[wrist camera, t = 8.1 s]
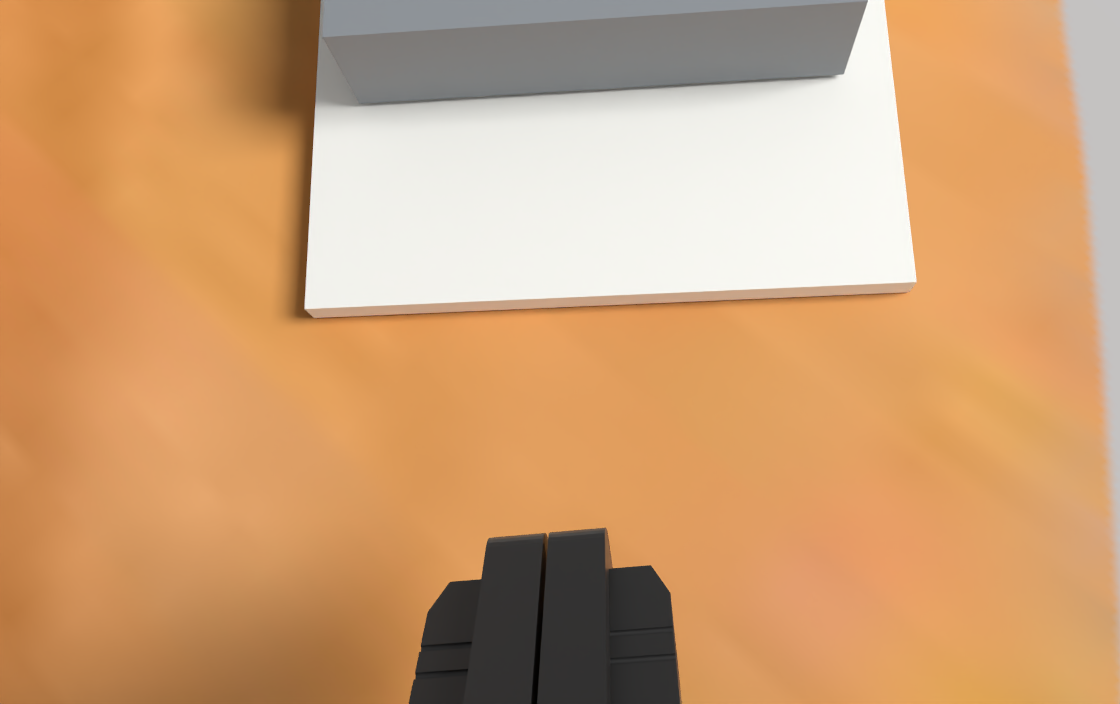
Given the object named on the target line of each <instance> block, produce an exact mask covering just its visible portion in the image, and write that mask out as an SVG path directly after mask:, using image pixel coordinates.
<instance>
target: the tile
mask: <svg viewBox="0 0 1120 704" xmlns="http://www.w3.org/2000/svg"><path fill="white" fill-rule="evenodd" d="M867 3H868V0H324V14H323V34H322V38H323V39H324V41H325V43H326V45H327V47H328V48H329V50H330V52H331V54H332V56H333V57H334V59H335V61H336V63H337V65H338V66H339V68H340V70H341V72H342V74H343V75H344V77H345V79H346V81H347V83H348V84H349V86H350V88H351V90H352V92H353V93H354V95H355V97H356V99H357V101H358V102H359V104H363V103H380V102H396V101H413V100H429V99H446V98H462V97H479V96H495V95H512V94H528V93H545V92H561V91H578V90H594V89H611V88H627V87H644V86H660V85H677V84H693V83H710V82H726V81H743V80H759V79H776V78H792V77H809V76H825V75H842V74H844V72H845V69H846V66H847V63H848V60H849V57H850V54H851V51H852V48H853V45H854V42H855V39H856V36H857V33H858V30H859V27H860V24H861V21H862V18H863V15H864V12H865V9H866V6H867Z"/></svg>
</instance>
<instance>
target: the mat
mask: <svg viewBox="0 0 1120 704" xmlns="http://www.w3.org/2000/svg"><path fill="white" fill-rule="evenodd" d="M323 14H324V0H321V9H320V27H319V46H318V65H317V84H316V103H315V121H314V140H313V159H312V178H311V197H310V215H309V234H308V253H307V272H306V291H305V310H306V311H307V312H308V313H309V314H310V315H311V316H312V317H314V318H325V317H348V316H372V315H395V314H418V313H441V312H464V311H487V310H510V309H533V308H556V307H579V306H602V305H625V304H648V303H672V302H695V301H718V300H741V299H764V298H787V297H810V296H833V295H856V294H879V293H902V292H910V290H911V289H912V288H913V286H914V285H915V284H916V273H915V264H914V256H913V247H912V238H911V230H910V221H909V212H908V204H907V195H906V186H905V177H904V169H903V160H902V151H901V143H900V134H899V125H898V117H897V108H896V99H895V91H894V82H893V73H892V65H891V56H890V47H889V39H888V30H887V21H886V13H885V4H884V0H868V3H867V6H866V9H865V12H864V15H863V18H862V21H861V24H860V27H859V30H858V33H857V36H856V39H855V42H854V45H853V48H852V51H851V54H850V57H849V60H848V63H847V66H846V69H845V72H844V74H842V75H825V76H809V77H792V78H776V79H759V80H743V81H726V82H710V83H693V84H677V85H660V86H644V87H627V88H611V89H594V90H578V91H561V92H545V93H528V94H512V95H495V96H479V97H462V98H446V99H429V100H413V101H396V102H380V103H363V104H359V102H358V101H357V99H356V97H355V95H354V93H353V92H352V90H351V88H350V86H349V84H348V83H347V81H346V79H345V77H344V75H343V74H342V72H341V70H340V68H339V66H338V65H337V63H336V61H335V59H334V57H333V56H332V54H331V52H330V50H329V48H328V47H327V45H326V43H325V41H324V39H323V38H322V34H323Z"/></svg>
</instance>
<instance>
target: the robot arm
mask: <svg viewBox="0 0 1120 704" xmlns="http://www.w3.org/2000/svg"><path fill="white" fill-rule="evenodd" d="M415 674H416V679H415V680H414V681H413V686H412V691H411V696H410V700H409V704H682V702H681V691H680V680H679V671H678V661H677V652H676V642H675V633H674V624H673V614H672V605H671V595H670V592H669V590H668V589H667V588H666V586H665V585H664V583H663V582H662V581H661V579H660V578H659V576H658V575H657V574H656V572H655V571H654V569H653V568H652V566H651V565H650V566H637V567H625V568H613V567H612V560H611V553H610V545H609V539H608V533H607V529H606V528H597V529H585V530H574V531H562V532H550V533H549V537H547V535H546V533H541V534H529V535H518V536H506V537H494V538H489V539H488V541H487V545H486V552H485V558H484V565H483V572H482V579H481V580H469V581H456V582H450V583H449V584H448V585H447V587H446V588H445V590H444V591H443V592H442V594H441V595H440V596H439V598H438V599H437V600H436V602H435V603H434V604H433V606H432V607H431V609H430V610H429V611H428V614H427V618H426V623H425V628H424V633H423V638H422V643H421V652H419V657H418V662H417V667H416V671H415Z"/></svg>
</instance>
